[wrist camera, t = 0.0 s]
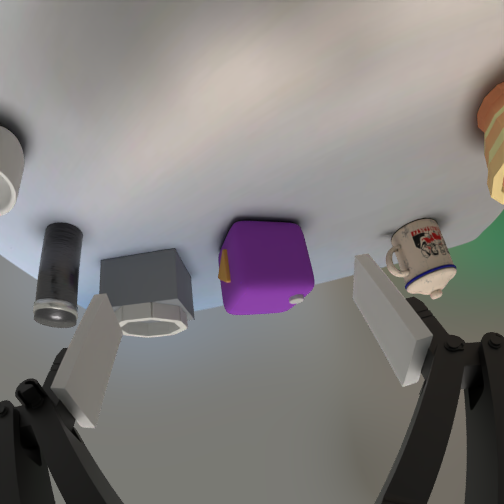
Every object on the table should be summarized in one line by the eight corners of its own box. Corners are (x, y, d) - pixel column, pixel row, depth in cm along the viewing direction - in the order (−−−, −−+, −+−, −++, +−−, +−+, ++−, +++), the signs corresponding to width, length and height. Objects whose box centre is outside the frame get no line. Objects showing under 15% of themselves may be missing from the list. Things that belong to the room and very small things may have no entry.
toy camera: (214, 267, 49) (221, 331, 44) (215, 217, 37) (224, 299, 32) (283, 261, 51) (295, 322, 46) (304, 211, 39) (324, 288, 34)
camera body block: (101, 260, 41) (98, 322, 37) (174, 248, 42) (178, 314, 38) (127, 286, 50) (128, 339, 46) (190, 277, 51) (195, 332, 47)
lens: (36, 226, 32) (23, 316, 27) (71, 218, 32) (60, 312, 27) (58, 247, 37) (50, 329, 32) (91, 240, 37) (86, 326, 32)
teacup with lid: (446, 215, 45) (473, 281, 40) (420, 243, 53) (441, 302, 48) (389, 218, 43) (416, 293, 38) (366, 248, 51) (386, 315, 46)
